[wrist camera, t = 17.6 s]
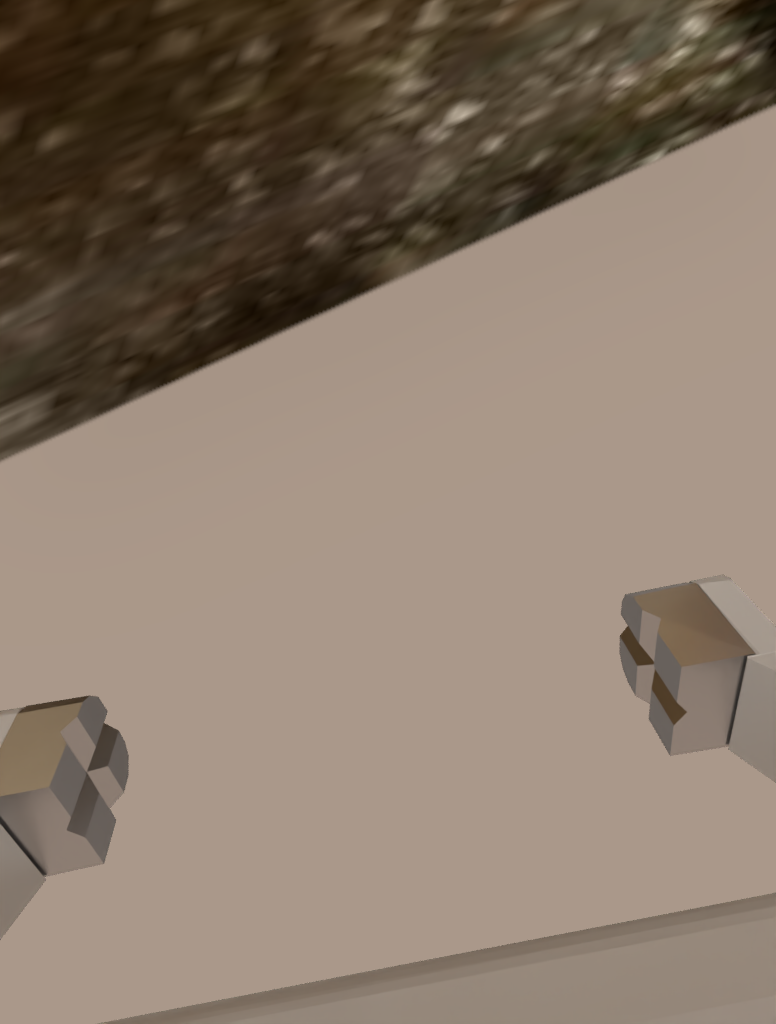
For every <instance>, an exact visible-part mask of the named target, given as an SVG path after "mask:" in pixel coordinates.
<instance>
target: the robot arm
mask: <svg viewBox="0 0 776 1024" xmlns="http://www.w3.org/2000/svg"><path fill="white" fill-rule="evenodd" d="M621 615H622V617H623V618H624V620H625V622H626V623H627V625H628V627H627V628H626V629H625V630H624V631H623V633H622V634H621V635H620V657H621V662H622V666H623V670H624V673H625V675H626V678H627V681H628V683H629V685H630V686H631V688H632V690H633V692H634V694H635V695H636V696H637V697H639V698H641V699H642V700H644V701H646V702H648V703H649V704H650V710H649V711H650V712H649V720H650V722H651V724H652V725H653V727H654V729H655V730H656V732H657V734H658V736H659V738H660V739H661V741H662V743H663V744H664V746H665V748H666V750H667V751H668V753H669V755H670V756H672V755H678V754H684V753H690V752H697V751H703V750H709V749H715V748H721V747H727V746H729V748H728V749H729V750H730V751H731V752H733V753H734V754H736V755H737V756H738V757H740V758H741V759H743V760H744V761H746V762H747V763H748V764H750V765H751V766H753V767H754V768H755V769H757V770H758V771H760V772H761V773H763V774H764V775H765V776H767V777H768V778H770V779H771V780H773V781H774V782H775V783H776V626H775V625H774V624H773V623H772V622H771V621H770V620H769V618H768V617H767V616H766V615H765V614H764V613H763V612H762V611H761V610H760V609H759V608H758V607H757V606H756V605H755V604H754V603H753V602H752V601H751V599H750V598H749V597H748V596H747V595H746V594H745V593H744V592H743V591H742V590H741V589H740V588H739V587H738V586H737V584H736V583H735V582H734V581H733V580H732V579H731V578H729V577H727V576H725V575H719V576H714V577H709V578H704V579H699V580H694V581H690V582H689V583H681V584H676V585H671V586H666V587H660V588H655V589H651V590H645V591H640V592H635V593H630V594H625V596H624V598H623V601H622V608H621ZM106 715H107V709H106V708H105V707H104V705H103V704H102V702H101V700H100V699H99V697H96V696H84V697H78V698H72V699H66V700H60V701H54V702H48V703H42V704H36V705H30V706H26V707H23V708H17V709H10V710H3V711H0V940H1V938H2V937H3V935H4V934H5V933H6V932H7V930H8V929H9V928H10V926H11V925H12V924H13V922H14V921H15V920H16V919H17V917H18V916H19V915H20V913H21V912H22V911H23V909H24V908H25V907H26V906H27V904H28V903H29V902H30V900H31V899H32V898H33V896H34V895H35V894H36V892H37V891H38V890H39V888H40V887H41V886H42V885H43V883H44V882H45V881H46V879H45V877H46V876H50V875H55V874H59V873H64V872H69V871H73V870H78V869H82V868H87V867H92V866H96V865H100V864H104V862H105V858H106V855H107V851H108V848H109V844H110V840H111V837H112V834H113V830H114V826H115V823H116V819H115V817H114V815H113V813H112V811H111V810H110V808H111V807H112V805H113V804H114V803H115V802H116V801H117V800H118V799H119V797H120V796H121V795H122V794H123V793H124V790H125V786H126V782H127V779H128V752H127V748H126V744H125V741H124V740H123V737H122V736H121V734H120V732H119V731H118V730H116V729H114V728H112V727H110V726H109V725H106V724H105V723H104V721H105V718H106ZM99 1024H776V893H772V894H767V895H762V896H757V897H752V898H746V899H741V900H737V901H731V902H726V903H721V904H716V905H711V906H705V907H700V908H695V909H690V910H685V911H680V912H674V913H669V914H664V915H658V916H653V917H648V918H643V919H638V920H633V921H627V922H622V923H617V924H612V925H606V926H601V927H596V928H591V929H586V930H580V931H575V932H570V933H565V934H559V935H554V936H549V937H544V938H539V939H534V940H528V941H523V942H518V943H513V944H507V945H502V946H497V947H492V948H487V949H481V950H476V951H471V952H466V953H461V954H456V955H450V956H445V957H440V958H435V959H429V960H424V961H419V962H414V963H409V964H404V965H398V966H394V967H388V968H383V969H378V970H373V971H368V972H363V973H357V974H352V975H347V976H342V977H336V978H331V979H326V980H321V981H316V982H311V983H305V984H300V985H296V986H290V987H285V988H280V989H274V990H270V991H264V992H259V993H254V994H249V995H244V996H239V997H234V998H228V999H223V1000H218V1001H213V1002H207V1003H202V1004H197V1005H192V1006H187V1007H182V1008H177V1009H171V1010H166V1011H161V1012H156V1013H150V1014H145V1015H140V1016H135V1017H130V1018H125V1019H120V1020H114V1021H109V1022H104V1023H99Z"/></svg>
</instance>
